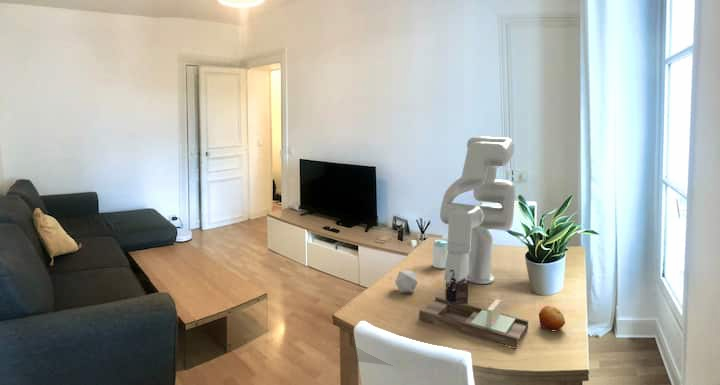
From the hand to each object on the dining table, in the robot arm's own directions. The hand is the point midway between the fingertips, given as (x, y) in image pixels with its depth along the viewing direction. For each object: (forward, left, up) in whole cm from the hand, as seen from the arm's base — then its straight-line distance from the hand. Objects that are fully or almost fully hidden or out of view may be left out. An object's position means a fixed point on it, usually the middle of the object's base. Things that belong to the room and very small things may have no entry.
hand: (456, 296), depth 148 cm
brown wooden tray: (0, +6, -9) cm, 11 cm away
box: (0, 0, -2) cm, 2 cm away
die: (-12, -25, -9) cm, 29 cm away
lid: (0, +13, -6) cm, 14 cm away
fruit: (-13, +28, -9) cm, 32 cm away
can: (-45, -25, -9) cm, 52 cm away
